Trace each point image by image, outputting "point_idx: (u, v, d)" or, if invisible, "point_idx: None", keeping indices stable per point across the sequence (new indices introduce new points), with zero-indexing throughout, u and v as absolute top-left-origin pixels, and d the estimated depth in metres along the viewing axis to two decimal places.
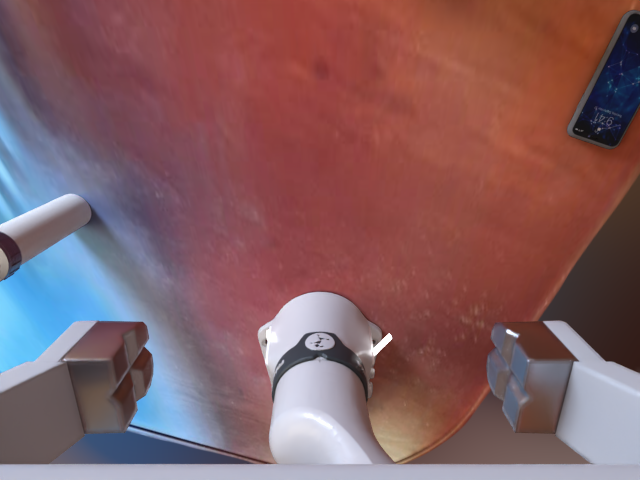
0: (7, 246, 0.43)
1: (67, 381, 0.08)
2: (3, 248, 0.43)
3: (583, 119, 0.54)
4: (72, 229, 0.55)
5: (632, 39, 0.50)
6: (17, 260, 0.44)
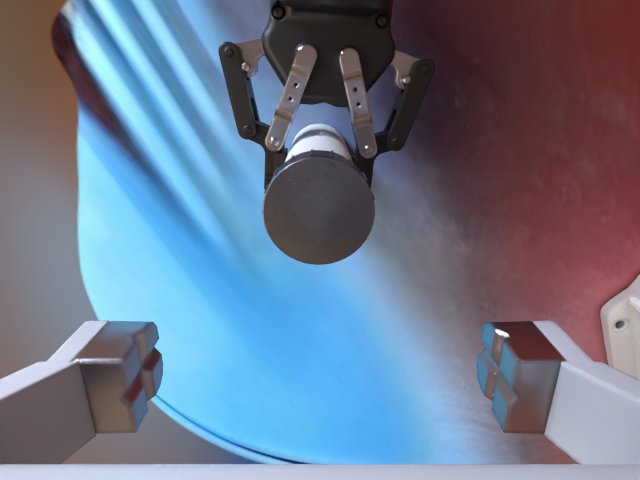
0: (362, 176, 0.20)
1: (79, 381, 0.08)
2: (362, 179, 0.20)
3: None
4: None
5: None
6: None
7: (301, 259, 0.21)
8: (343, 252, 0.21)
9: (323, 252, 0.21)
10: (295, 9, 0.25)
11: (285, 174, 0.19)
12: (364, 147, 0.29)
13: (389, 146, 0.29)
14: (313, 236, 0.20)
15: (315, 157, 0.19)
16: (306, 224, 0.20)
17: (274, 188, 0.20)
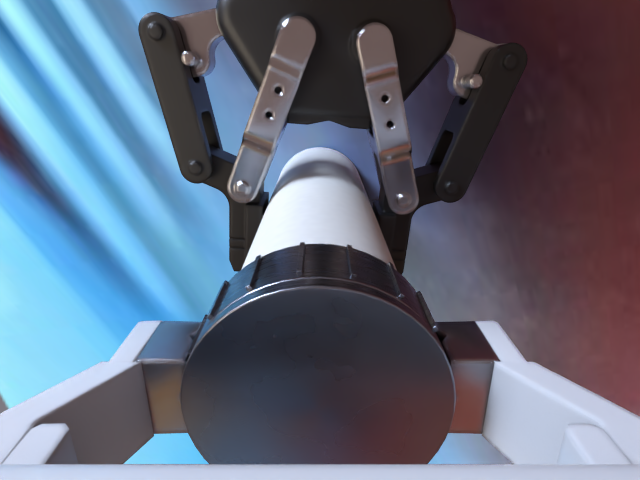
0: (422, 314, 0.09)
1: (141, 381, 0.08)
2: (425, 331, 0.08)
3: None
4: None
5: None
6: None
7: None
8: None
9: None
10: None
11: (232, 325, 0.08)
12: (397, 196, 0.17)
13: (440, 195, 0.17)
14: (305, 454, 0.09)
15: (309, 286, 0.07)
16: (288, 431, 0.08)
17: (206, 356, 0.08)
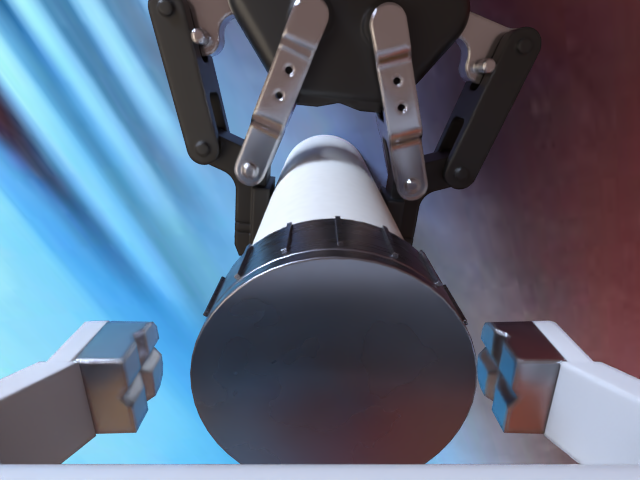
0: (332, 240, 0.08)
1: (79, 381, 0.08)
2: (331, 254, 0.07)
3: None
4: None
5: None
6: (416, 257, 0.08)
7: None
8: (456, 397, 0.08)
9: (423, 429, 0.08)
10: None
11: (205, 393, 0.08)
12: (406, 182, 0.17)
13: (449, 181, 0.17)
14: (374, 425, 0.08)
15: (207, 320, 0.07)
16: (338, 421, 0.08)
17: (220, 427, 0.08)
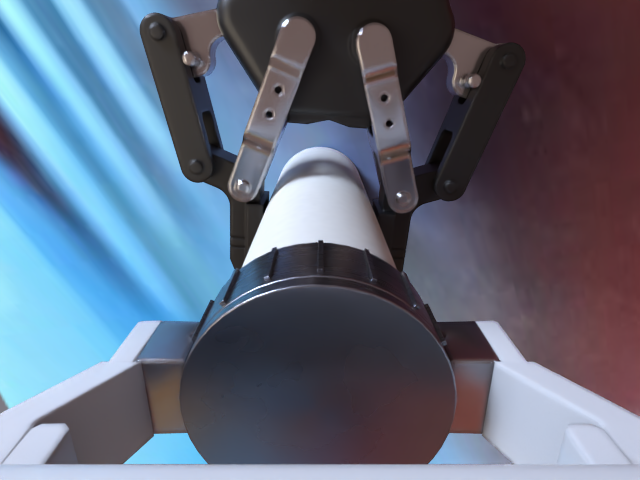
0: (313, 265, 0.08)
1: (141, 381, 0.08)
2: (311, 281, 0.08)
3: None
4: None
5: None
6: (397, 279, 0.09)
7: None
8: (438, 416, 0.08)
9: (406, 447, 0.08)
10: None
11: (194, 416, 0.08)
12: (397, 195, 0.17)
13: (439, 194, 0.17)
14: (358, 443, 0.08)
15: (194, 346, 0.08)
16: (324, 440, 0.08)
17: (210, 448, 0.09)
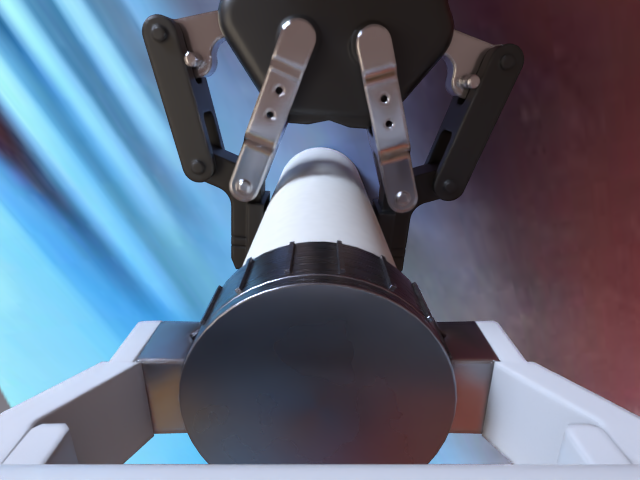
0: None
1: (141, 381, 0.08)
2: (202, 336, 0.08)
3: None
4: None
5: None
6: (277, 259, 0.08)
7: (450, 407, 0.08)
8: (399, 326, 0.07)
9: (414, 368, 0.08)
10: None
11: None
12: (396, 195, 0.17)
13: (438, 193, 0.17)
14: (379, 400, 0.08)
15: (197, 448, 0.09)
16: (354, 422, 0.08)
17: None
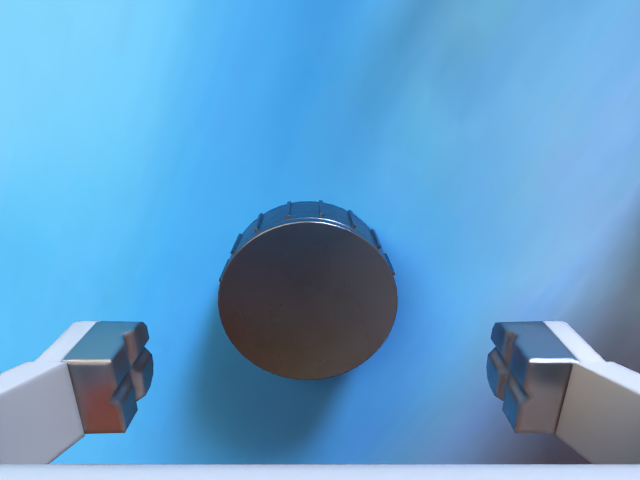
0: None
1: (67, 381, 0.08)
2: (233, 260, 0.12)
3: None
4: None
5: None
6: (280, 212, 0.13)
7: (393, 304, 0.13)
8: (358, 249, 0.12)
9: (369, 277, 0.12)
10: None
11: (270, 365, 0.13)
12: None
13: None
14: (347, 300, 0.13)
15: (229, 338, 0.13)
16: (332, 316, 0.13)
17: (296, 372, 0.13)
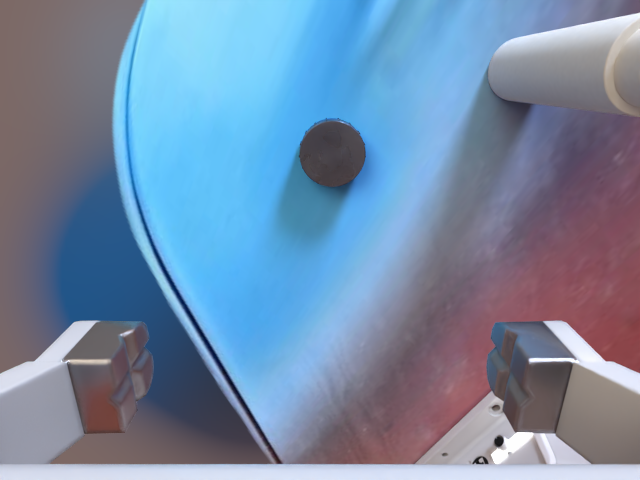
0: (306, 134, 0.35)
1: (67, 381, 0.08)
2: (306, 136, 0.34)
3: None
4: None
5: None
6: (323, 120, 0.35)
7: (363, 154, 0.34)
8: (351, 132, 0.34)
9: (355, 143, 0.34)
10: None
11: (317, 179, 0.35)
12: None
13: None
14: (347, 152, 0.34)
15: (302, 167, 0.35)
16: (341, 159, 0.34)
17: (326, 182, 0.35)
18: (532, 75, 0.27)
